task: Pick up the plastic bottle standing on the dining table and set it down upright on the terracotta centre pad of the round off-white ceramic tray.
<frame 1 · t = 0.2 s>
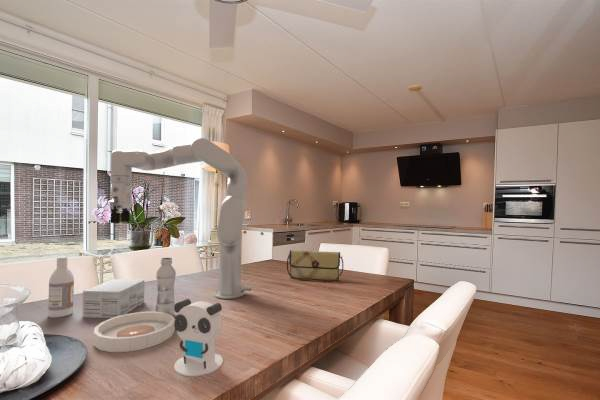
hand: (120, 222, 131), 31 cm above the table, tool pointing down, fingers open, 9 cm apart
supplement box: (115, 310, 117), on the table
bath foam: (60, 315, 111), on the table
plastic bottle: (165, 316, 111), on the table
round tray: (136, 335, 94), on the table
clutch purse: (314, 280, 166), on the table
panda figurine: (197, 364, 78), on the table
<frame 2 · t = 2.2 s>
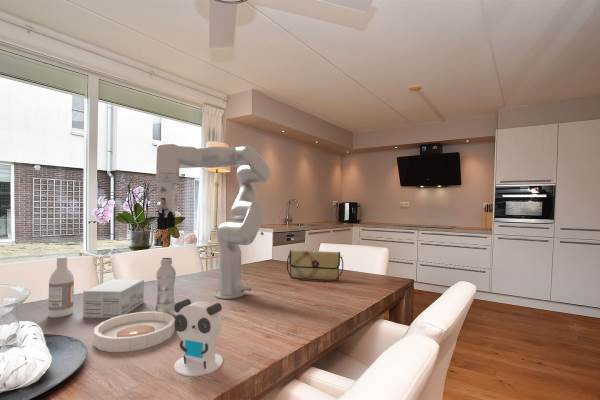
hand: (166, 228, 111), 31 cm above the table, tool pointing down, fingers open, 9 cm apart
nothing on the table moved.
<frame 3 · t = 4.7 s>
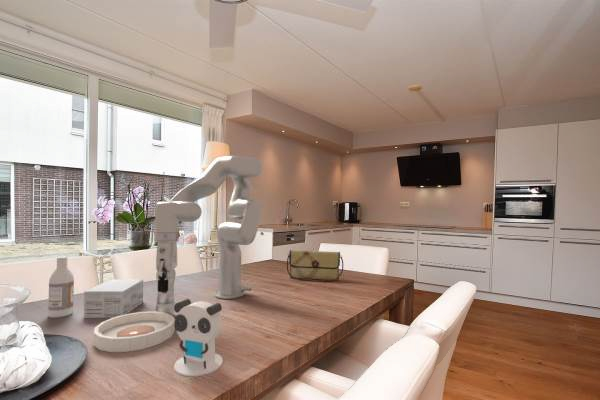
hand: (165, 288, 111), 10 cm above the table, tool pointing down, fingers closed on plastic bottle, 6 cm apart
plastic bottle: (165, 316, 111), on the table, touching gripper
everything else where it was.
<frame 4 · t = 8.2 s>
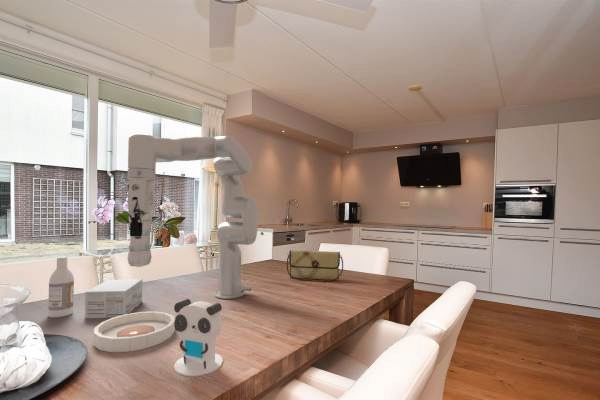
hand: (140, 234, 96), 30 cm above the table, tool pointing down, fingers closed on plastic bottle, 6 cm apart
plastic bottle: (139, 267, 96), point 20 cm above the table, touching gripper
everything else where it was.
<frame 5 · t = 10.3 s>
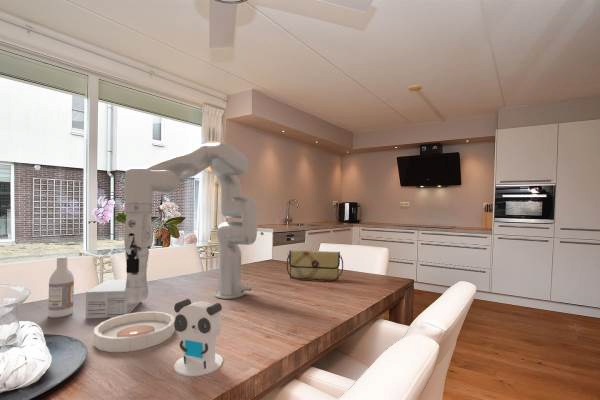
hand: (137, 269, 94), 20 cm above the table, tool pointing down, fingers closed on plastic bottle, 6 cm apart
plastic bottle: (136, 302, 94), point 10 cm above the table, touching gripper
when the fingers open (12 cm above the table, at t = 12.2 s): plastic bottle drops 1 cm, resting on round tray.
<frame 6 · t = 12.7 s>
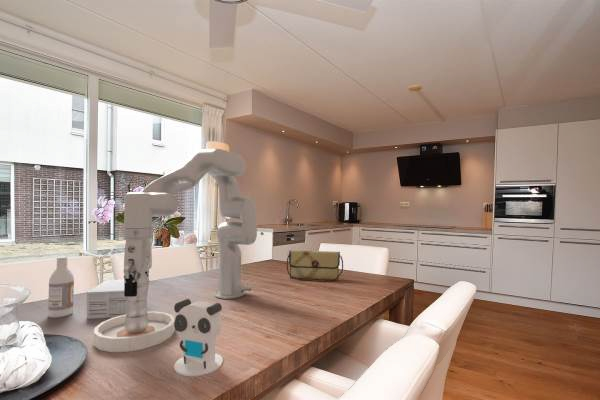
hand: (136, 291, 94), 13 cm above the table, tool pointing down, fingers open, 9 cm apart
plastic bottle: (136, 332, 94), point 1 cm above the table, touching round tray
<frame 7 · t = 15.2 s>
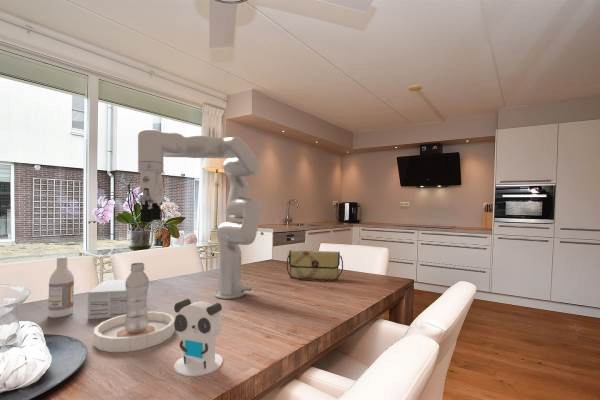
hand: (151, 220, 104), 34 cm above the table, tool pointing down, fingers open, 9 cm apart
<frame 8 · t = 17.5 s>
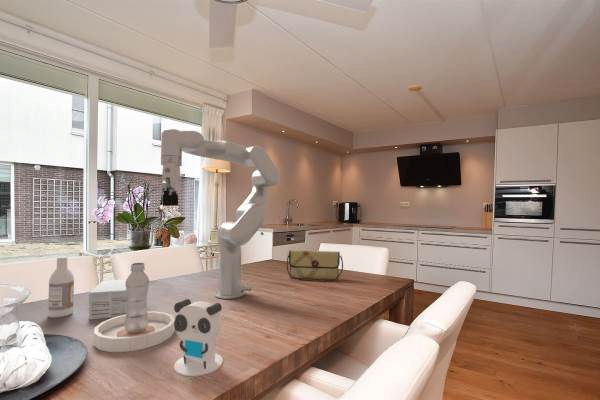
hand: (170, 205, 123), 38 cm above the table, tool pointing down, fingers open, 9 cm apart
at the end: plastic bottle 0.2 cm from the round tray (horizontally); plastic bottle tilted 0°; the gripper is holding nothing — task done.
